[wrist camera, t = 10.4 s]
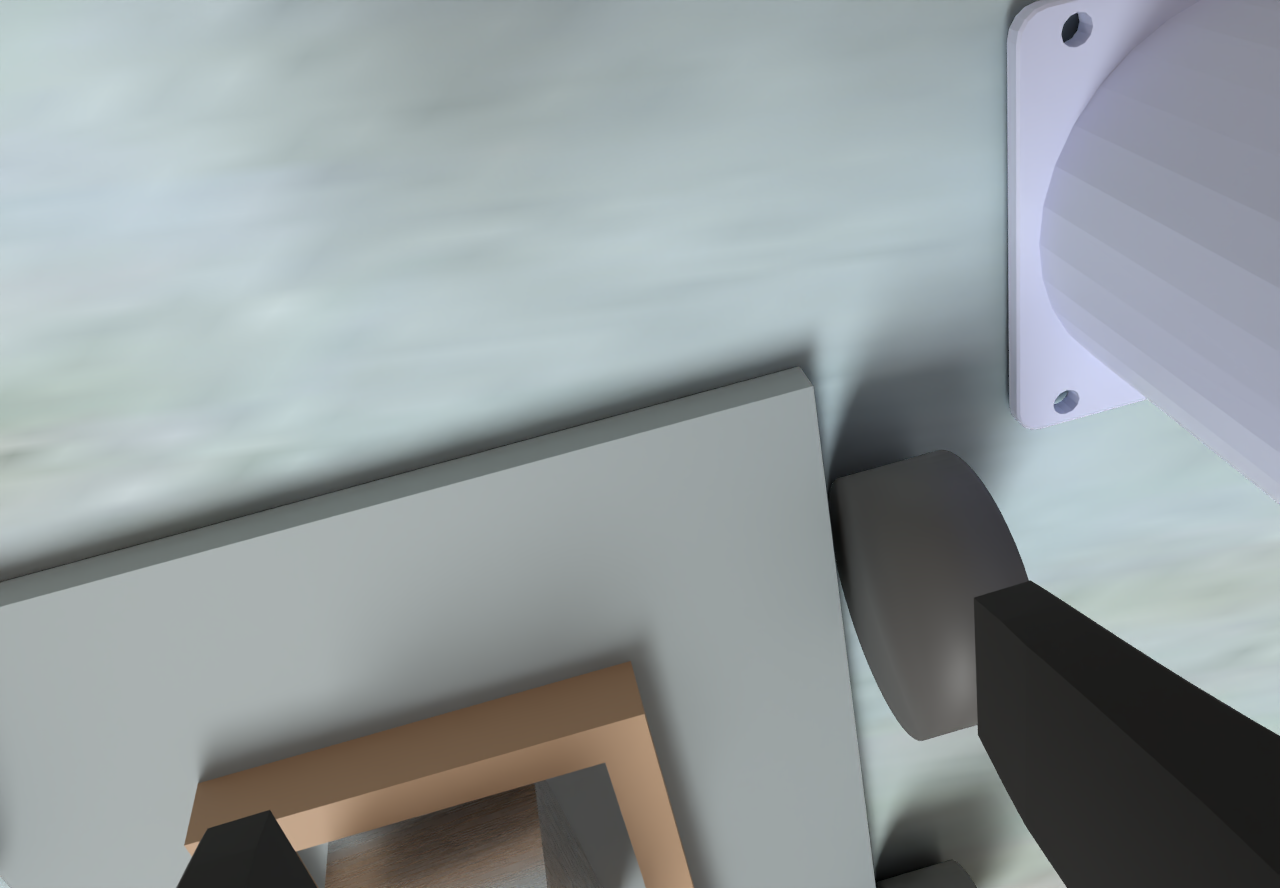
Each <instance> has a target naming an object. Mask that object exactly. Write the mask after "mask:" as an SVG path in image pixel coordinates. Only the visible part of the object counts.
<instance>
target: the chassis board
mask: <svg viewBox="0 0 1280 888" xmlns="http://www.w3.org/2000/svg"><path fill="white" fill-rule="evenodd" d="M834 554H835V556H834ZM835 559H836V564H837V568H838V573H839V577H840V581H841V585H842V588H843V592H844V595H845V599H846V602H847V606H848V609H849V612H850V616H851V619H852V622H853V625H854V628H855V631H856V633H857V636H858V639H859V642H860V644H861V647H862V650H863V652H864V655H865V657H866V660H867V662H868V665H869V667H870V669H871V672H872V674H873V676H874V678H875V680H876V683H877V685H878V687H879V689H880V691H881V693H882V695H883V697H884V699H885V701H886V702H887V704H888V706H889V708H890V709H891V711H892V713H893V714H894V716H895V717H896V719H897V720H898V722H899V723H900V725H901V726H902V727H903V728H904V730H905V731H906V732H907V733H908V734H909V735H910V736H911V737H913V738H914V739H916V740H918V741H923V740H927V739H930V738H933V737H937V736H940V735H944V734H947V733H951V732H954V731H957V730H961V729H964V728H968V727H971V726H975V725H978V718H977V686H976V655H975V623H974V597H977V596H981V595H984V594H987V593H991V592H994V591H997V590H1001V589H1004V588H1007V587H1011V586H1014V585H1017V584H1020V583H1024V582H1027V581H1029V580H1028V577H1027V574H1026V571H1025V568H1024V565H1023V562H1022V559H1021V557H1020V554H1019V552H1018V549H1017V546H1016V544H1015V542H1014V539H1013V537H1012V535H1011V533H1010V530H1009V528H1008V526H1007V524H1006V522H1005V520H1004V518H1003V516H1002V514H1001V512H1000V510H999V508H998V507H997V505H996V503H995V501H994V500H993V498H992V496H991V495H990V493H989V492H988V490H987V489H986V487H985V485H984V484H983V482H982V481H981V480H980V479H979V477H978V476H977V475H976V473H975V472H974V471H973V470H972V469H971V468H970V467H969V466H968V465H967V463H966V462H964V461H963V460H962V459H961V458H960V457H958V456H957V455H955V454H953V453H952V452H949V451H946V450H938V451H935V452H931V453H927V454H924V455H920V456H916V457H913V458H909V459H906V460H902V461H898V462H895V463H891V464H888V465H884V466H880V467H877V468H873V469H869V470H866V471H862V472H859V473H855V474H851V475H848V476H844V477H841V478H837V479H836V480H834V482H833V484H832V486H831V489H830V495H829V508H828V500H827V492H826V484H825V476H824V468H823V460H822V452H821V444H820V436H819V428H818V420H817V412H816V404H815V396H814V388H813V385H812V383H811V382H810V381H809V379H808V378H807V376H806V375H805V373H804V372H803V371H802V369H801V368H800V366H799V367H795V368H791V369H787V370H784V371H780V372H776V373H773V374H769V375H765V376H762V377H758V378H754V379H750V380H747V381H743V382H739V383H736V384H732V385H728V386H725V387H721V388H717V389H713V390H710V391H706V392H702V393H699V394H695V395H691V396H688V397H684V398H680V399H676V400H673V401H669V402H665V403H662V404H658V405H654V406H651V407H647V408H643V409H640V410H636V411H632V412H628V413H625V414H621V415H617V416H614V417H610V418H606V419H603V420H599V421H595V422H591V423H588V424H584V425H580V426H577V427H573V428H569V429H566V430H562V431H558V432H554V433H551V434H547V435H543V436H540V437H536V438H532V439H529V440H525V441H521V442H518V443H514V444H510V445H506V446H503V447H499V448H495V449H492V450H488V451H484V452H481V453H477V454H473V455H469V456H466V457H462V458H458V459H455V460H451V461H447V462H444V463H440V464H436V465H432V466H429V467H425V468H421V469H418V470H414V471H410V472H407V473H403V474H399V475H396V476H392V477H388V478H384V479H381V480H377V481H373V482H370V483H366V484H362V485H359V486H355V487H351V488H347V489H344V490H340V491H336V492H333V493H329V494H325V495H322V496H318V497H314V498H310V499H307V500H303V501H299V502H296V503H292V504H288V505H285V506H281V507H277V508H274V509H270V510H266V511H262V512H259V513H255V514H251V515H248V516H244V517H240V518H237V519H233V520H229V521H225V522H222V523H218V524H214V525H211V526H207V527H203V528H200V529H196V530H192V531H188V532H185V533H181V534H177V535H174V536H170V537H166V538H163V539H159V540H155V541H151V542H148V543H144V544H140V545H137V546H133V547H129V548H126V549H122V550H118V551H115V552H111V553H107V554H103V555H100V556H96V557H92V558H89V559H85V560H81V561H78V562H74V563H70V564H66V565H63V566H59V567H55V568H52V569H48V570H44V571H41V572H37V573H33V574H29V575H26V576H22V577H18V578H15V579H11V580H7V581H4V582H0V877H1V878H2V879H3V880H4V881H5V882H6V883H7V885H8V886H9V887H10V888H176V887H177V885H178V883H179V881H180V879H181V877H182V875H183V873H184V871H185V869H186V867H187V865H188V863H189V862H190V860H191V858H192V856H193V854H194V852H195V850H196V848H197V846H198V844H199V842H200V840H201V839H202V837H203V835H204V834H205V832H206V830H207V829H208V828H211V827H214V826H217V825H221V824H224V823H227V822H231V821H234V820H237V819H241V818H244V817H247V816H251V815H254V814H257V813H261V812H264V811H267V810H270V811H271V812H272V814H273V816H274V817H275V819H276V820H277V822H278V824H279V825H280V827H281V829H282V830H283V832H284V834H285V835H286V837H287V839H288V840H289V842H290V843H291V845H292V847H293V848H294V850H295V852H296V853H297V855H298V857H299V858H300V860H301V861H302V863H303V865H304V866H305V868H306V870H307V871H308V873H309V875H310V876H311V878H312V880H313V881H314V883H315V884H316V886H317V888H325V877H326V865H327V853H328V842H331V841H334V840H338V839H341V838H345V837H348V836H352V835H355V834H359V833H362V832H366V831H369V830H372V829H376V828H379V827H383V826H386V825H390V824H393V823H397V822H400V821H404V820H407V819H411V818H414V817H418V816H421V815H425V814H428V813H432V812H435V811H439V810H442V809H445V808H449V807H452V806H456V805H459V804H463V803H466V802H470V801H473V800H477V799H480V798H484V797H487V796H491V795H494V794H498V793H501V792H505V791H508V790H511V789H515V788H518V787H522V786H525V785H529V784H532V783H536V782H539V781H543V780H546V781H547V783H548V784H549V786H550V788H551V790H552V792H553V794H554V796H555V798H556V800H557V801H558V803H559V805H560V807H561V809H562V811H563V813H564V815H565V817H566V818H567V820H568V822H569V824H570V826H571V828H572V830H573V832H574V834H575V835H576V837H577V839H578V841H579V843H580V845H581V847H582V849H583V851H584V852H585V854H586V856H587V858H588V860H589V862H590V864H591V866H592V868H593V869H594V871H595V873H596V875H597V877H598V879H599V881H600V883H601V884H602V886H603V888H977V887H976V885H975V884H974V882H973V881H972V879H971V878H970V876H969V875H968V874H967V872H966V871H965V870H964V869H963V868H962V866H961V865H960V864H958V863H957V862H956V861H954V860H949V861H945V862H942V863H939V864H935V865H932V866H929V867H925V868H922V869H919V870H915V871H912V872H909V873H905V874H902V875H898V876H895V877H892V878H888V879H885V880H882V881H878V882H877V884H876V885H875V877H874V869H873V861H872V853H871V845H870V837H869V829H868V821H867V813H866V805H865V797H864V789H863V781H862V773H861V765H860V757H859V749H858V741H857V733H856V725H855V717H854V709H853V701H852V693H851V685H850V677H849V669H848V661H847V653H846V644H845V636H844V628H843V620H842V612H841V604H840V596H839V588H838V580H837V572H836V564H835Z"/></svg>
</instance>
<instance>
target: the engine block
mask: <svg viewBox="0 0 1280 888" xmlns="http://www.w3.org/2000/svg"><path fill="white" fill-rule="evenodd" d="M325 888H603V886H602V884H601V883H600V881H599V879H598V877H597V875H596V873H595V871H594V869H593V868H592V866H591V864H590V862H589V860H588V858H587V856H586V854H585V852H584V851H583V849H582V847H581V845H580V843H579V841H578V839H577V837H576V835H575V834H574V832H573V830H572V828H571V826H570V824H569V822H568V820H567V818H566V817H565V815H564V813H563V811H562V809H561V807H560V805H559V803H558V801H557V800H556V798H555V796H554V794H553V792H552V790H551V788H550V786H549V784H548V783H547V781H546V780H543V781H539V782H536V783H532V784H529V785H525V786H522V787H518V788H515V789H511V790H508V791H505V792H501V793H498V794H494V795H491V796H487V797H484V798H480V799H477V800H473V801H470V802H466V803H463V804H459V805H456V806H452V807H449V808H445V809H442V810H439V811H435V812H432V813H428V814H425V815H421V816H418V817H414V818H411V819H407V820H404V821H400V822H397V823H393V824H390V825H386V826H383V827H379V828H376V829H372V830H369V831H366V832H362V833H359V834H355V835H352V836H348V837H345V838H341V839H338V840H334V841H331V842H328V853H327V865H326V877H325Z"/></svg>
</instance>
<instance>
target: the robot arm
mask: <svg viewBox="0 0 1280 888" xmlns="http://www.w3.org/2000/svg"><path fill="white" fill-rule="evenodd" d="M1075 13H1078V16H1079V21H1080V22H1079V26H1078V30H1077V32H1076V33H1075V34H1074V36H1073V37H1072V38H1071V39H1070V40H1068V41H1066V42H1064V43H1063V40H1062V36H1061V33H1062V29H1063V25H1064V23H1065V22H1066V21H1067V19H1068V18H1069V17H1070V16H1072V15H1073V14H1075ZM1007 130H1008V289H1009V408H1010V412H1011V415H1012V416H1013V417H1014V418H1015V419H1016V420H1017V421H1018V422H1019V423H1020V424H1021V425H1022V426H1023V427H1024V428H1028V429H1031V430H1034V429H1042V428H1045V427H1049V426H1053V425H1056V424H1060V423H1063V422H1067V421H1071V420H1074V419H1078V418H1081V417H1085V416H1089V415H1092V414H1096V413H1099V412H1103V411H1107V410H1110V409H1114V408H1117V407H1121V406H1125V405H1128V404H1132V403H1136V402H1139V401H1143V400H1146V399H1148V400H1149V401H1150V402H1152V403H1153V404H1154V405H1156V406H1157V407H1158V408H1159V409H1161V410H1162V411H1163V412H1164V413H1166V414H1167V415H1168V416H1169V417H1171V418H1172V419H1173V420H1174V421H1176V422H1177V423H1178V424H1179V425H1181V426H1182V427H1183V428H1184V429H1186V430H1187V431H1188V432H1189V433H1191V434H1192V435H1193V436H1194V437H1196V438H1197V439H1198V440H1199V441H1201V442H1202V443H1203V444H1204V445H1206V446H1207V447H1208V448H1209V449H1211V450H1212V451H1213V452H1214V453H1216V454H1217V455H1218V456H1220V457H1221V458H1222V459H1223V460H1225V461H1226V462H1227V463H1228V464H1230V465H1231V466H1232V467H1233V468H1235V469H1236V470H1237V471H1238V472H1240V473H1241V474H1242V475H1243V476H1245V477H1246V478H1247V479H1248V480H1250V481H1251V482H1252V483H1253V484H1255V485H1256V486H1257V487H1258V488H1260V489H1261V490H1262V491H1263V492H1265V493H1266V494H1267V495H1268V496H1270V497H1271V498H1272V499H1273V500H1275V501H1276V502H1277V503H1279V504H1280V0H1039V1H1036V2H1034V3H1031V4H1029V5H1027V6H1025V7H1024V8H1023V9H1022V10H1021V11H1020V12H1019V13H1018V14H1017V15H1016V16H1015V18H1014V20H1013V22H1012V24H1011V26H1010V28H1009V32H1008V38H1007ZM1066 390H1068V393H1067V396H1066V397H1065V398H1064V399H1063V400H1062V401H1060V402H1058V403H1056V404H1054V402H1055V399H1056V398H1057V397H1058V396H1059V394H1061V393H1062V392H1064V391H1066ZM974 623H975V655H976V686H977V718H978V736H979V738H980V740H981V742H982V744H983V745H984V747H985V749H986V751H987V753H988V755H989V757H990V759H991V761H992V763H993V765H994V767H995V769H996V771H997V773H998V775H999V777H1000V779H1001V781H1002V783H1003V785H1004V787H1005V788H1006V790H1007V792H1008V794H1009V796H1010V798H1011V800H1012V801H1013V803H1014V805H1015V807H1016V809H1017V811H1018V813H1019V814H1020V816H1021V818H1022V820H1023V822H1024V824H1025V826H1026V827H1027V829H1028V830H1029V832H1030V833H1031V835H1032V836H1033V838H1034V839H1035V841H1036V842H1037V844H1038V845H1039V847H1040V848H1041V850H1042V851H1043V853H1044V854H1045V856H1046V857H1047V859H1048V860H1049V862H1050V863H1051V865H1052V866H1053V868H1054V869H1055V871H1056V872H1057V873H1058V875H1059V876H1060V878H1061V879H1062V881H1063V882H1064V884H1065V885H1066V887H1067V888H1280V736H1279V735H1277V734H1275V733H1274V732H1272V731H1270V730H1269V729H1267V728H1265V727H1263V726H1262V725H1260V724H1258V723H1256V722H1255V721H1253V720H1251V719H1250V718H1248V717H1246V716H1245V715H1243V714H1241V713H1240V712H1238V711H1236V710H1235V709H1233V708H1231V707H1230V706H1228V705H1226V704H1225V703H1223V702H1221V701H1220V700H1218V699H1216V698H1215V697H1213V696H1211V695H1210V694H1208V693H1206V692H1205V691H1203V690H1201V689H1200V688H1198V687H1196V686H1195V685H1193V684H1191V683H1190V682H1188V681H1187V680H1185V679H1183V678H1182V677H1180V676H1179V675H1177V674H1175V673H1174V672H1172V671H1171V670H1169V669H1167V668H1166V667H1164V666H1163V665H1161V664H1159V663H1158V662H1156V661H1155V660H1153V659H1152V658H1150V657H1148V656H1147V655H1145V654H1144V653H1142V652H1141V651H1139V650H1137V649H1136V648H1134V647H1133V646H1131V645H1130V644H1128V643H1127V642H1125V641H1123V640H1122V639H1120V638H1119V637H1117V636H1116V635H1114V634H1113V633H1111V632H1110V631H1108V630H1106V629H1105V628H1103V627H1102V626H1100V625H1099V624H1097V623H1096V622H1094V621H1093V620H1091V619H1090V618H1088V617H1087V616H1085V615H1084V614H1082V613H1080V612H1079V611H1077V610H1076V609H1074V608H1073V607H1071V606H1070V605H1068V604H1067V603H1065V602H1064V601H1062V600H1061V599H1059V598H1057V597H1056V596H1054V595H1053V594H1051V593H1050V592H1048V591H1047V590H1045V589H1043V588H1042V587H1040V586H1039V585H1037V584H1035V583H1034V582H1032V581H1027V582H1024V583H1020V584H1017V585H1014V586H1011V587H1007V588H1004V589H1001V590H997V591H994V592H991V593H987V594H984V595H981V596H977V597H974ZM176 888H317V886H316V884H315V883H314V881H313V880H312V878H311V876H310V875H309V873H308V871H307V870H306V868H305V866H304V865H303V863H302V861H301V860H300V858H299V857H298V855H297V853H296V852H295V850H294V848H293V847H292V845H291V843H290V842H289V840H288V839H287V837H286V835H285V834H284V832H283V830H282V829H281V827H280V825H279V824H278V822H277V820H276V819H275V817H274V816H273V814H272V812H271V811H270V810H267V811H264V812H261V813H257V814H254V815H251V816H247V817H244V818H241V819H237V820H234V821H231V822H227V823H224V824H221V825H217V826H214V827H211V828H208V829H207V830H206V832H205V834H204V835H203V837H202V839H201V840H200V842H199V844H198V846H197V848H196V850H195V852H194V854H193V856H192V858H191V860H190V862H189V863H188V865H187V867H186V869H185V871H184V873H183V875H182V877H181V879H180V881H179V883H178V885H177V887H176Z"/></svg>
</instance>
